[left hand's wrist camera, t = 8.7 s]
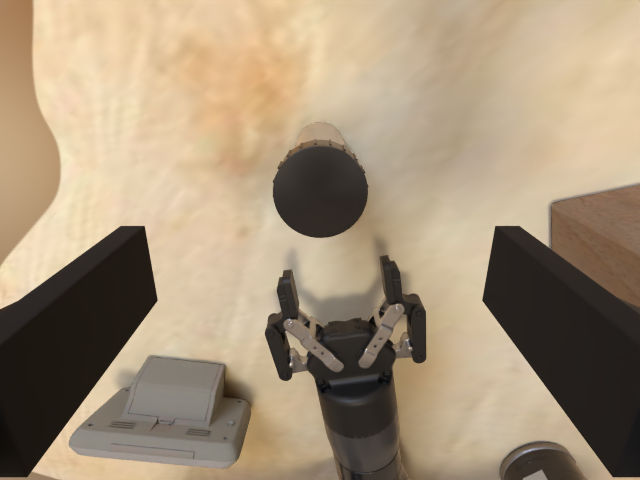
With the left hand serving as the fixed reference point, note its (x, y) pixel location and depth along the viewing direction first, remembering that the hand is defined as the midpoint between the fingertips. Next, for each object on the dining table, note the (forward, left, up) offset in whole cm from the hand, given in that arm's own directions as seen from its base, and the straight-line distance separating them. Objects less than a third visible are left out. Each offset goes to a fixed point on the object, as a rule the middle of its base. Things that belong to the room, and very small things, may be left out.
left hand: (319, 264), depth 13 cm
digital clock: (+6, +32, -26) cm, 41 cm away
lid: (0, 0, -9) cm, 9 cm away
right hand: (-4, +8, -19) cm, 21 cm away
